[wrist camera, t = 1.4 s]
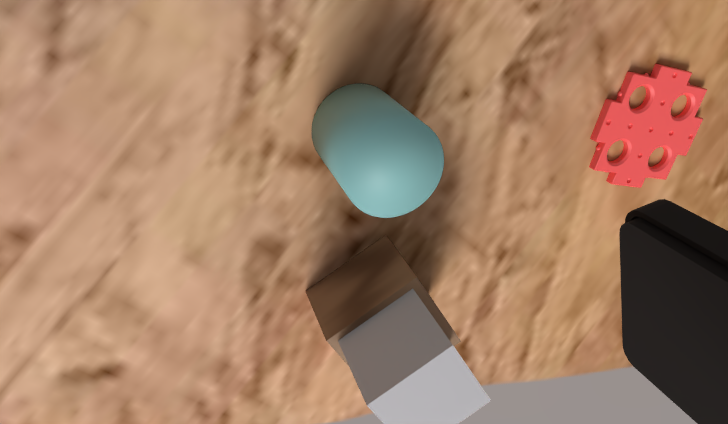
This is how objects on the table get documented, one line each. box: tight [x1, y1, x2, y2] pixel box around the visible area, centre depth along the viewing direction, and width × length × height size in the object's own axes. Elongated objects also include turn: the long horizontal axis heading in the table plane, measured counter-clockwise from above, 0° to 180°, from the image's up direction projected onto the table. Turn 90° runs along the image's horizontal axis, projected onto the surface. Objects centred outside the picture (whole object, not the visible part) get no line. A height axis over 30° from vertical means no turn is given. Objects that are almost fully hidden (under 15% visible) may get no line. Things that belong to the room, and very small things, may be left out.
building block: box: [589, 64, 707, 188], centre depth 40 cm, size 1×8×8 cm
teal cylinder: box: [312, 83, 444, 218], centre depth 31 cm, size 5×5×6 cm
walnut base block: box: [306, 235, 460, 366], centre depth 37 cm, size 6×6×5 cm
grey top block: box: [338, 289, 491, 424], centre depth 32 cm, size 5×5×5 cm
